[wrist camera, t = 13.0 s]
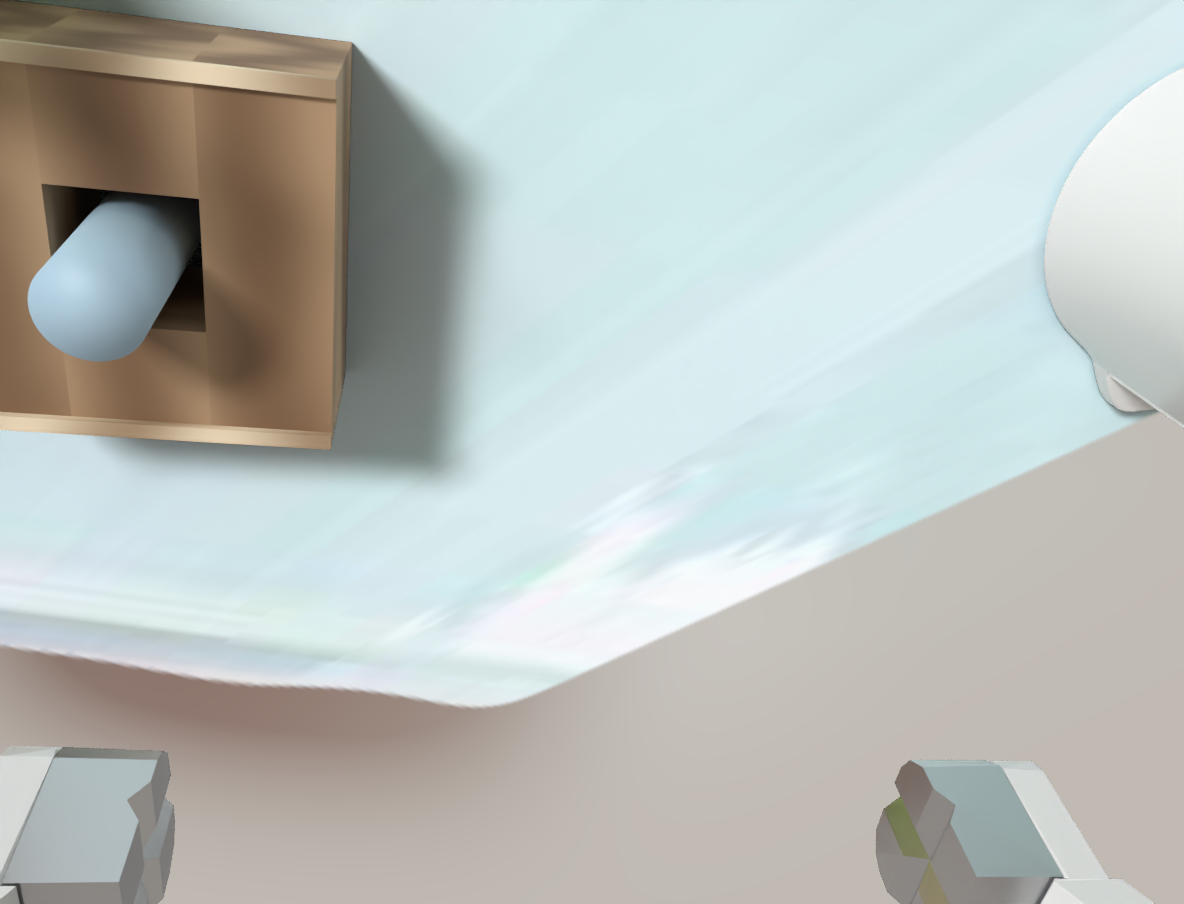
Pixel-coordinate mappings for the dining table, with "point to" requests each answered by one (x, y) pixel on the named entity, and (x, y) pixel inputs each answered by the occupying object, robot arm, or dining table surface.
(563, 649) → the dining table surface
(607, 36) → the dining table surface
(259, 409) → the socket block
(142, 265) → the dowel
